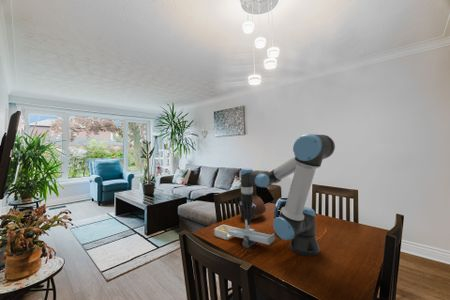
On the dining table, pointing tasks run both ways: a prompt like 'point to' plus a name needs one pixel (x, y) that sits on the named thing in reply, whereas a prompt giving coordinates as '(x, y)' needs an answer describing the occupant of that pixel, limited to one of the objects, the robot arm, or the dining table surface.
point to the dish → (223, 234)
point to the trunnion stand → (248, 242)
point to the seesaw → (253, 235)
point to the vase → (258, 204)
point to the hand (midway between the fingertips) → (247, 229)
